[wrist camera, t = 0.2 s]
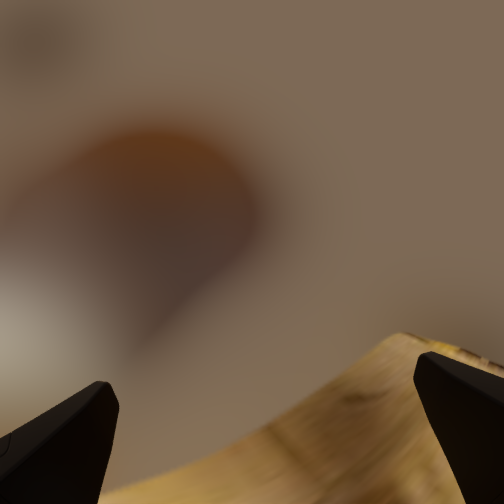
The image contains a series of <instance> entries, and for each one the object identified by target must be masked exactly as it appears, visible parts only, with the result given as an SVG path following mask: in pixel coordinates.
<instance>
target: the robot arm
mask: <svg viewBox="0 0 504 504" xmlns="http://www.w3.org/2000/svg"><path fill="white" fill-rule="evenodd" d="M413 380H414V384H415V387H416V389H417V392H418V394H419V397H420V399H421V402H422V405H423V407H424V410H425V413H426V415H427V418H428V420H429V423H430V425H431V427H432V429H433V431H434V433H435V435H436V437H437V439H438V441H439V443H440V445H441V447H442V450H443V452H444V454H445V456H446V458H447V460H448V462H449V465H450V467H451V469H452V471H453V474H454V476H455V478H456V481H457V483H458V485H459V488H460V490H461V493H462V495H463V498H464V500H465V503H466V504H504V378H502V377H499V376H496V375H493V374H491V373H488V372H485V371H483V370H480V369H477V368H475V367H472V366H469V365H467V364H464V363H461V362H459V361H456V360H453V359H451V358H448V357H446V356H443V355H440V354H438V353H435V352H432V351H430V352H426V353H423V354H421V355H420V356H419V357H418V361H417V364H416V368H415V372H414V376H413ZM118 413H119V402H118V400H117V398H116V395H115V393H114V391H113V389H112V386H111V385H110V383H108V382H103V381H96V382H94V383H92V384H91V385H89V386H88V387H86V388H84V389H83V390H81V391H79V392H78V393H76V394H74V395H73V396H71V397H70V398H68V399H66V400H64V401H63V402H61V403H60V404H58V405H56V406H55V407H53V408H51V409H50V410H48V411H46V412H45V413H43V414H41V415H40V416H38V417H36V418H34V419H33V420H31V421H30V422H28V423H26V424H24V425H23V426H21V427H19V428H17V429H16V430H14V431H12V433H9V434H7V435H5V436H3V437H2V438H0V504H97V503H98V499H99V495H100V491H101V487H102V484H103V480H104V476H105V472H106V469H107V465H108V461H109V458H110V454H111V451H112V446H113V440H114V434H115V429H116V424H117V418H118Z"/></svg>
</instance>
